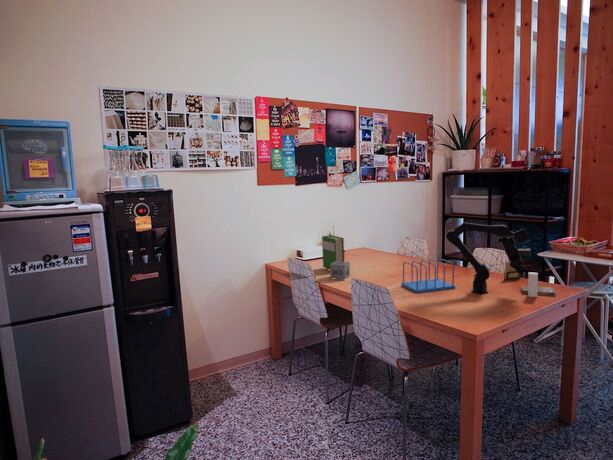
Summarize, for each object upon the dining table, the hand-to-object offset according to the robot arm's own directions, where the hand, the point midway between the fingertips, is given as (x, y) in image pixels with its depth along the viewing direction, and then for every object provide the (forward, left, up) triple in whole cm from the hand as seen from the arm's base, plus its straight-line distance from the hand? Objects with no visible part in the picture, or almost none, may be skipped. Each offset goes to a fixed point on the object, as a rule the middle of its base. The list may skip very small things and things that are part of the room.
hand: (521, 274), depth 213 cm
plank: (+10, 0, -11) cm, 15 cm away
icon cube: (-75, +74, -11) cm, 106 cm away
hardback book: (-71, +98, -11) cm, 122 cm away
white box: (+6, -1, -11) cm, 12 cm away
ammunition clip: (+20, +28, -11) cm, 36 cm away
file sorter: (-36, +32, -11) cm, 50 cm away
